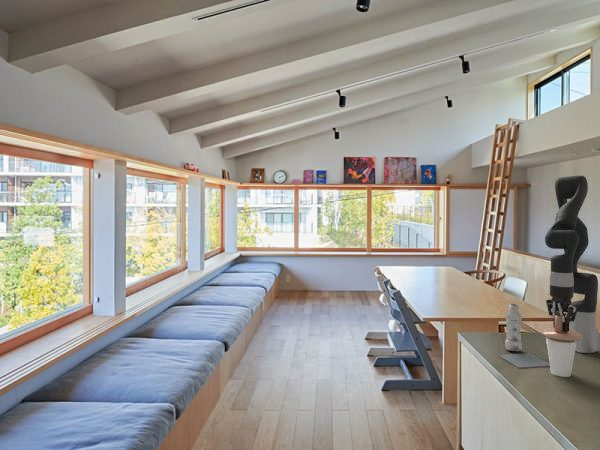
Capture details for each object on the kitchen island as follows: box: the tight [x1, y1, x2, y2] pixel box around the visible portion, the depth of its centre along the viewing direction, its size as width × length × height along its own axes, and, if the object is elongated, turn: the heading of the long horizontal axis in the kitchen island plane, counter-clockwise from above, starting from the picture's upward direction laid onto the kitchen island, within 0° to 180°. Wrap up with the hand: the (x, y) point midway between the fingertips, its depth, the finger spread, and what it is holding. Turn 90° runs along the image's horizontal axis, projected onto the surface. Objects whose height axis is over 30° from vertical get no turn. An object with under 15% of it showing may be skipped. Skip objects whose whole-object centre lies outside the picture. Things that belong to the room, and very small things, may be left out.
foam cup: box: [545, 336, 576, 378], centre depth 160 cm, size 10×9×13 cm
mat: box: [497, 352, 550, 369], centre depth 174 cm, size 14×14×1 cm
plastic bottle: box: [504, 303, 523, 352], centre depth 185 cm, size 6×7×20 cm
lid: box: [540, 315, 582, 340], centre depth 159 cm, size 13×13×7 cm
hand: (561, 329), depth 160 cm, fingers closed on lid, 4 cm apart
